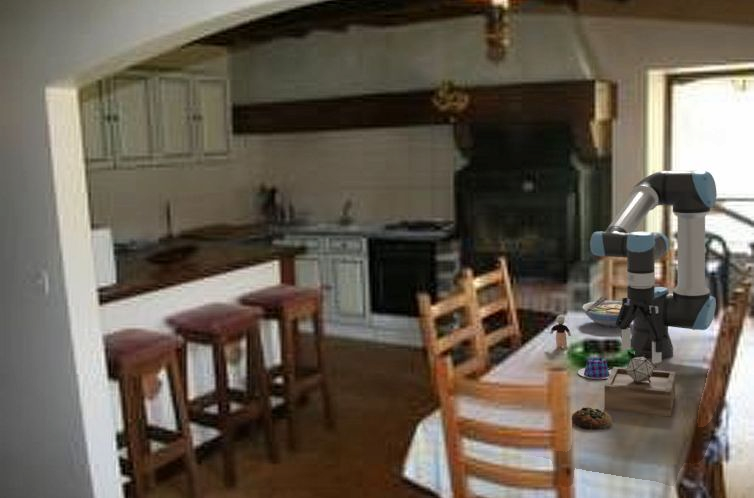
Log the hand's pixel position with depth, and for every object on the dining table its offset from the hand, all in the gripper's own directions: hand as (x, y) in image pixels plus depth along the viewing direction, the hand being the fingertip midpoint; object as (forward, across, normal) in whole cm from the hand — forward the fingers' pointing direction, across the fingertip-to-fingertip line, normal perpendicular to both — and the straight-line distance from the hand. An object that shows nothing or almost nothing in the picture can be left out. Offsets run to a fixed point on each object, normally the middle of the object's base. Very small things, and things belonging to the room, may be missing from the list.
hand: (641, 356), depth 227 cm
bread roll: (+14, +7, -22) cm, 27 cm away
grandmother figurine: (+15, -57, +10) cm, 59 cm away
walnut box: (+14, 0, 0) cm, 14 cm away
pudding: (+15, -27, +4) cm, 31 cm away
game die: (+8, 0, 0) cm, 8 cm away
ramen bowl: (+15, -74, +45) cm, 88 cm away
